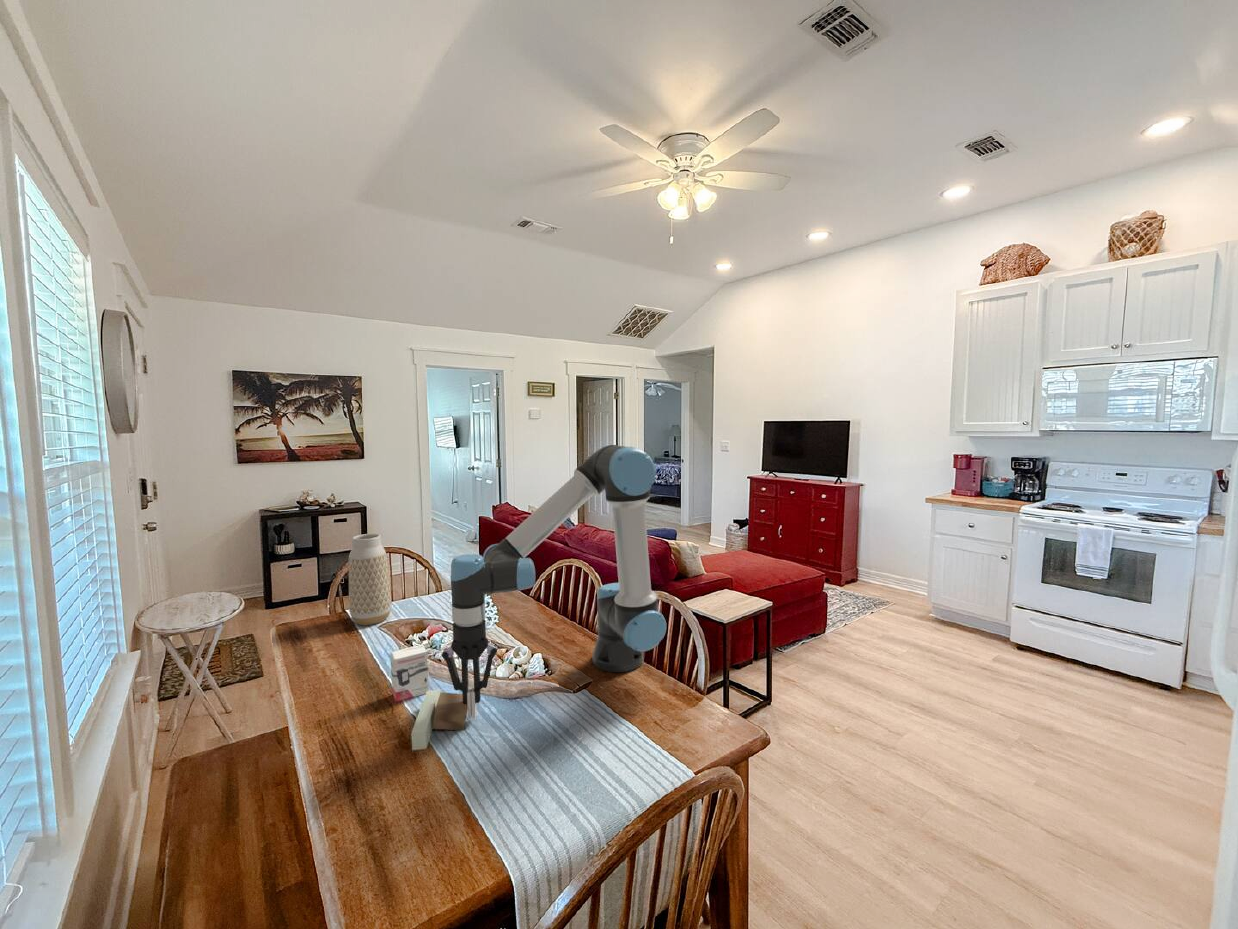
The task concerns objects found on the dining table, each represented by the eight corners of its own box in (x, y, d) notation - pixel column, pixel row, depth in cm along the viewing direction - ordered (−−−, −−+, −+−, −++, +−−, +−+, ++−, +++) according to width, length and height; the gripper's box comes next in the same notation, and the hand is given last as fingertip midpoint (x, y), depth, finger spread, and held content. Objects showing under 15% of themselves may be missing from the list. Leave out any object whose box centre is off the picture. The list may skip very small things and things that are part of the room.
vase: (385, 609, 201) (380, 530, 198) (397, 620, 191) (392, 536, 187) (346, 619, 192) (340, 536, 189) (356, 631, 182) (350, 543, 179)
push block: (467, 713, 132) (469, 694, 132) (463, 730, 125) (466, 710, 125) (437, 711, 131) (440, 692, 130) (432, 728, 124) (435, 708, 124)
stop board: (440, 704, 136) (439, 689, 136) (426, 748, 118) (425, 731, 118) (427, 705, 136) (426, 690, 135) (412, 750, 118) (411, 733, 117)
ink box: (396, 703, 137) (393, 659, 136) (392, 694, 141) (389, 651, 140) (430, 692, 142) (427, 650, 141) (425, 685, 146) (423, 643, 145)
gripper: (498, 613, 131) (501, 704, 133) (442, 616, 129) (446, 709, 131) (496, 625, 123) (499, 721, 126) (437, 629, 121) (441, 727, 124)
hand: (472, 715), depth 128 cm, fingers closed
